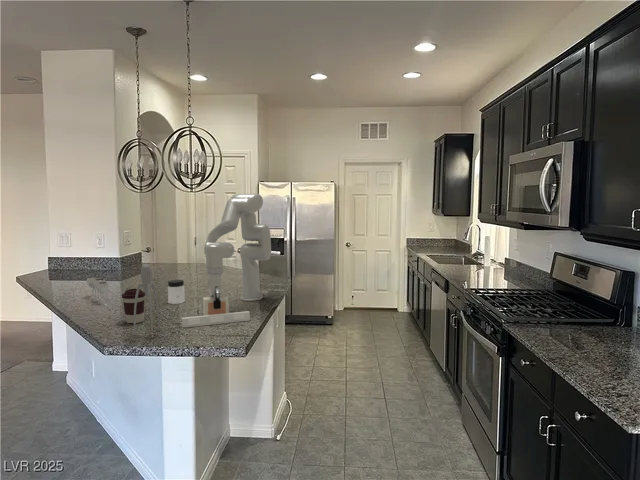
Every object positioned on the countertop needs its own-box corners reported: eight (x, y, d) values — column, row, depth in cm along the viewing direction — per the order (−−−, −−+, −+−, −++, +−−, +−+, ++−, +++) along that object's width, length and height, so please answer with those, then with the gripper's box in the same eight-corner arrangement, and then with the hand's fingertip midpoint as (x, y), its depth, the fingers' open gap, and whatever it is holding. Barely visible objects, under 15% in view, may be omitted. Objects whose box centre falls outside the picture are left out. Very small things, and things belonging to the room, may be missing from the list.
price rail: (249, 319, 204) (248, 311, 204) (250, 320, 202) (249, 312, 202) (182, 326, 194) (181, 317, 193) (182, 328, 191) (182, 319, 191)
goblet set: (111, 304, 238) (109, 280, 237) (99, 306, 234) (98, 281, 233) (97, 296, 259) (95, 274, 258) (86, 297, 255) (85, 275, 254)
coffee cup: (123, 325, 196) (121, 293, 195) (123, 320, 205) (121, 288, 204) (146, 323, 200) (145, 290, 199) (146, 317, 209) (144, 287, 208)
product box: (203, 318, 208) (203, 297, 207) (227, 315, 212) (226, 295, 211) (205, 321, 202) (204, 300, 201) (229, 318, 206) (228, 298, 205)
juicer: (138, 331, 188) (135, 262, 185) (160, 330, 188) (157, 261, 186) (130, 338, 177) (126, 265, 175) (153, 337, 178) (149, 265, 175)
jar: (170, 304, 234) (169, 283, 233) (166, 302, 241) (165, 280, 240) (187, 302, 239) (186, 281, 238) (182, 299, 246) (181, 278, 245)
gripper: (204, 268, 211) (205, 303, 213) (208, 274, 195) (210, 311, 197) (220, 267, 214) (221, 301, 216) (225, 272, 198) (226, 309, 199)
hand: (215, 306), depth 206 cm, fingers open, 9 cm apart
